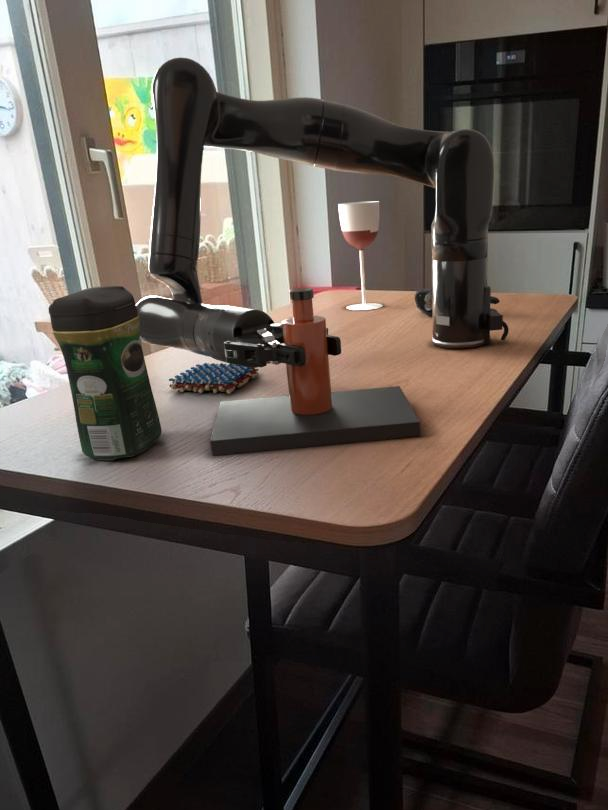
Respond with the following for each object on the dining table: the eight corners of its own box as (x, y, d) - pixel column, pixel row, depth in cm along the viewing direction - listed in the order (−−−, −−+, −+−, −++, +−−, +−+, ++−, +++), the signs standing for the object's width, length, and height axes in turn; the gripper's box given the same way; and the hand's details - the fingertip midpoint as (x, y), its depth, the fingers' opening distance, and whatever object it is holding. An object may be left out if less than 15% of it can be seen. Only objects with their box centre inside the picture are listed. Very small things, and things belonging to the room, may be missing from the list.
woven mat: (232, 395, 101) (230, 381, 100) (167, 392, 104) (165, 379, 103) (262, 375, 110) (260, 362, 109) (202, 373, 113) (200, 361, 112)
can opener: (409, 317, 144) (409, 290, 142) (420, 311, 150) (419, 284, 148) (494, 319, 138) (495, 290, 136) (502, 312, 144) (503, 284, 141)
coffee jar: (114, 433, 89) (81, 282, 81) (172, 434, 87) (144, 280, 79) (70, 462, 80) (29, 297, 72) (133, 464, 78) (98, 295, 71)
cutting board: (400, 398, 95) (399, 385, 94) (420, 436, 81) (420, 421, 80) (222, 414, 93) (220, 401, 92) (212, 455, 79) (209, 441, 79)
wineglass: (389, 302, 162) (384, 200, 153) (376, 310, 154) (370, 203, 145) (353, 302, 165) (347, 202, 156) (339, 310, 156) (331, 205, 147)
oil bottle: (321, 399, 91) (312, 284, 85) (339, 409, 86) (330, 289, 80) (284, 407, 88) (272, 289, 82) (300, 418, 84) (289, 295, 78)
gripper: (184, 316, 87) (270, 331, 76) (273, 298, 97) (361, 309, 86) (194, 375, 90) (278, 397, 79) (279, 351, 100) (365, 368, 89)
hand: (320, 351), depth 83 cm, fingers closed on oil bottle, 5 cm apart
